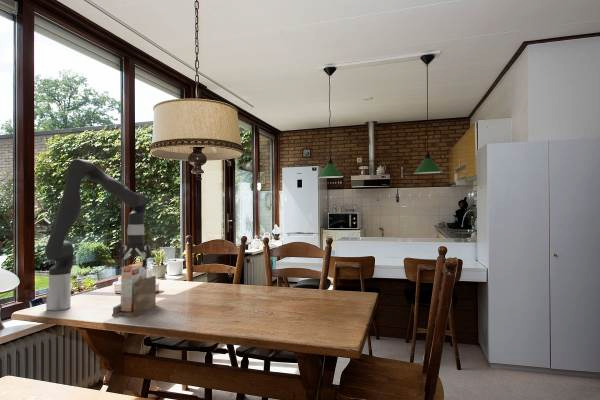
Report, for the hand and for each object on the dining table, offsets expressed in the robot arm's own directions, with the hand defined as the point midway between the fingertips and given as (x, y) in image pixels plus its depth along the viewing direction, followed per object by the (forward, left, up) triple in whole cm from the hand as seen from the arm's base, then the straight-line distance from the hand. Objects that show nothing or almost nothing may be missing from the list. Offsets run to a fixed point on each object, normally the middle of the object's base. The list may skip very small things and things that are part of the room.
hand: (135, 267), depth 181 cm
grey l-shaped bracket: (0, 0, -21) cm, 21 cm away
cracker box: (-1, 0, -20) cm, 20 cm away
